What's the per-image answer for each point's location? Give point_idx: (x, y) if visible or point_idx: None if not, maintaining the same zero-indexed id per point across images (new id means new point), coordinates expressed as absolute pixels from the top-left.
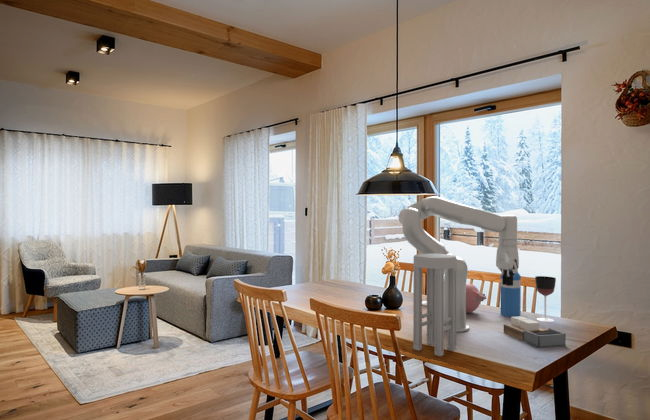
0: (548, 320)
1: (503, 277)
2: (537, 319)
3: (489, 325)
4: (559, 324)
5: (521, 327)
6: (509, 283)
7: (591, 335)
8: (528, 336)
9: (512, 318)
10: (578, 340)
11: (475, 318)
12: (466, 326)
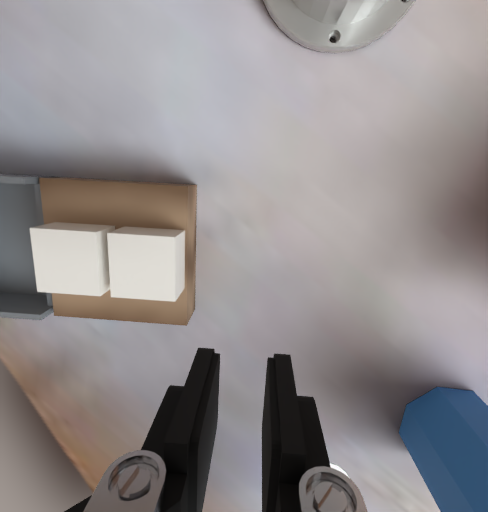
0: None
1: (276, 428)
2: (330, 464)
3: (323, 203)
4: (241, 481)
5: (103, 225)
6: (171, 385)
7: (91, 466)
8: (6, 175)
9: (165, 235)
10: (44, 384)
11: (467, 223)
12: (303, 17)
